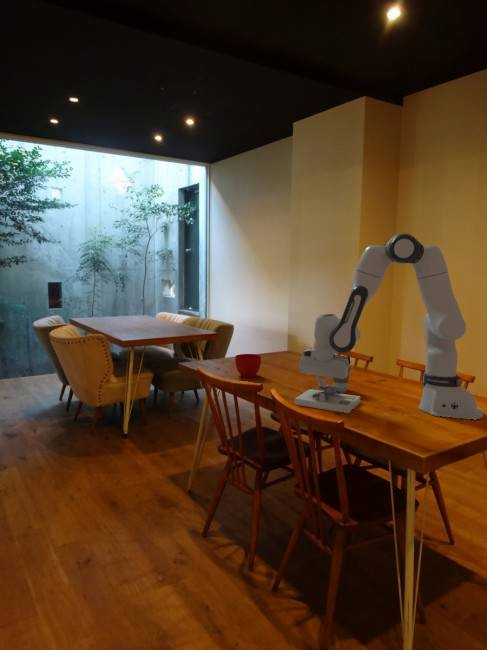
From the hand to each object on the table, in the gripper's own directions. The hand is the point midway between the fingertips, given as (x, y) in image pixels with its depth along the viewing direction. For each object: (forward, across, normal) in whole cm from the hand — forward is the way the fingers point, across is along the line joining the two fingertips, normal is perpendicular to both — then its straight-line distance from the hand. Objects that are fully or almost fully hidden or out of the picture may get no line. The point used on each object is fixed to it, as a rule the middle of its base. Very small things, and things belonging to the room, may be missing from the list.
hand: (322, 385), depth 190 cm
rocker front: (+1, -4, +8) cm, 9 cm away
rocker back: (+1, -4, 0) cm, 4 cm away
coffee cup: (+6, -2, -19) cm, 20 cm away
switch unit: (+6, -4, +4) cm, 8 cm away
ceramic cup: (+7, +47, -22) cm, 52 cm away
